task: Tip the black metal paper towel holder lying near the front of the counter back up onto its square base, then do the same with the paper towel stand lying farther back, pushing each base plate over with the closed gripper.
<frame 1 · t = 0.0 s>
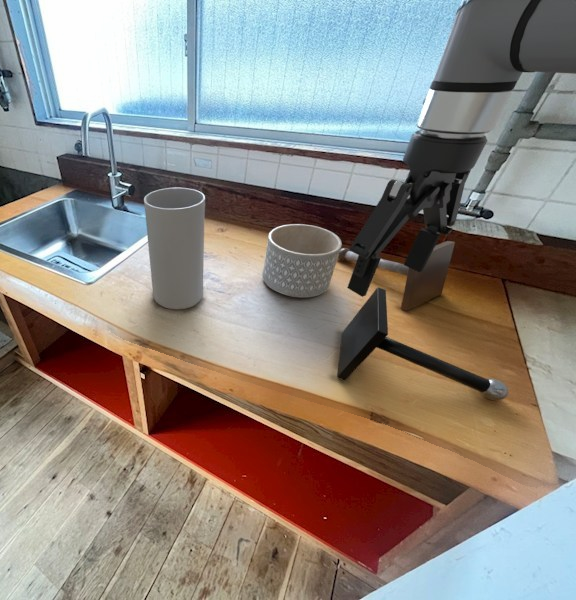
hand: (385, 279, 51), 18 cm above the worktop, tool pointing down, fingers open, 13 cm apart
black holder: (357, 331, 59), point 7 cm above the worktop
cylinder vase: (178, 296, 81), on the worktop
planter: (293, 283, 84), on the worktop
paper towel stand: (431, 276, 72), point 7 cm above the worktop
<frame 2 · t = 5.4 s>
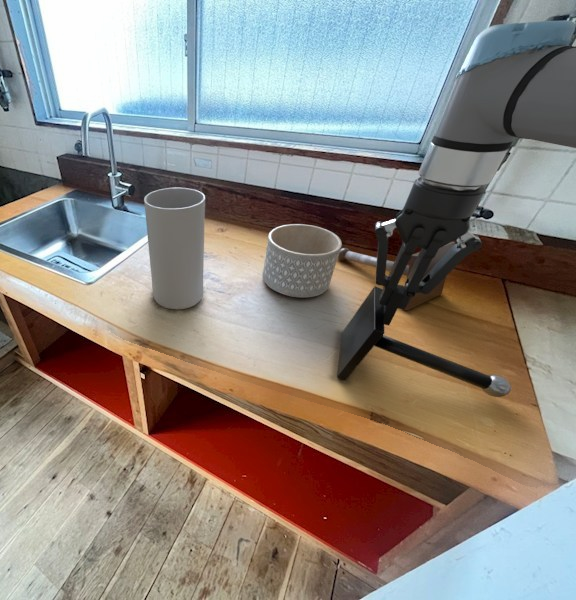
hand: (384, 319, 55), 11 cm above the worktop, tool pointing down, fingers closed
black holder: (355, 331, 59), point 7 cm above the worktop, touching gripper
everything else where it was.
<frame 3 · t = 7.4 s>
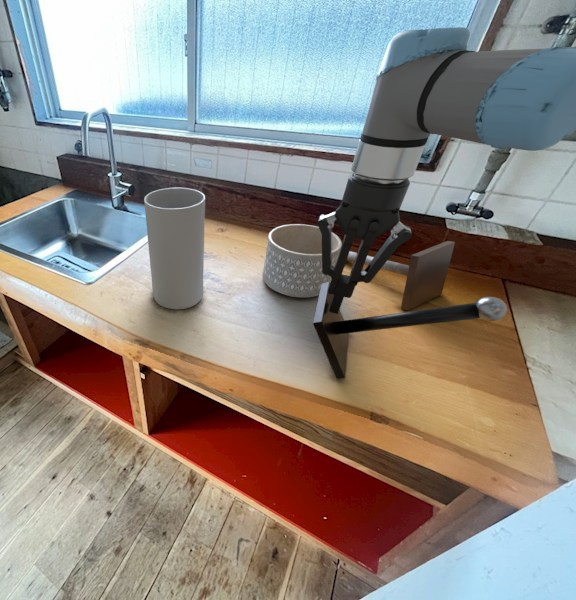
hand: (334, 308, 58), 11 cm above the worktop, tool pointing down, fingers closed
black holder: (328, 329, 61), point 6 cm above the worktop, tilted 43°, touching gripper
everything else where it was.
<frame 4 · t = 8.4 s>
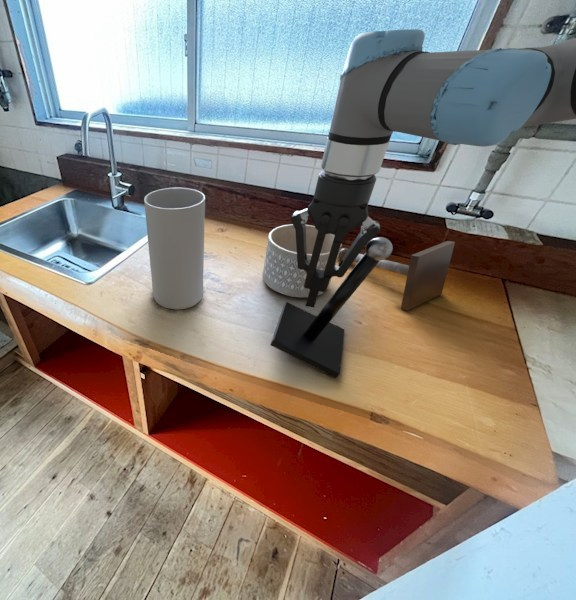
hand: (310, 302, 60), 11 cm above the worktop, tool pointing down, fingers closed
black holder: (307, 339, 65), point 2 cm above the worktop, tilted 87°, touching hand
everything else where it was.
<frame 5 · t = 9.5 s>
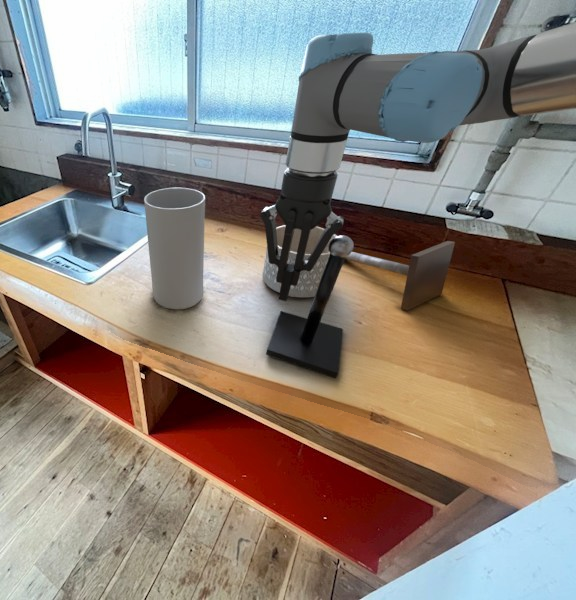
hand: (283, 296, 62), 11 cm above the worktop, tool pointing down, fingers closed
black holder: (304, 343, 66), on the worktop, tilted 100°, touching hand
everything else where it was.
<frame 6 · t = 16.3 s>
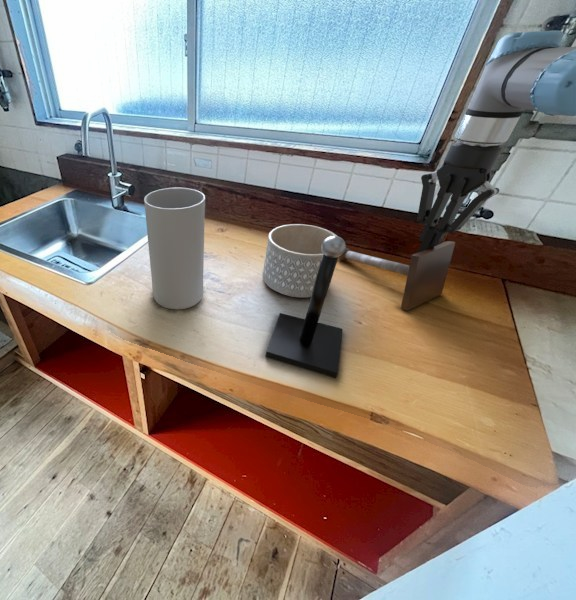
hand: (422, 255, 72), 10 cm above the worktop, tool pointing down, fingers closed
black holder: (304, 344, 66), on the worktop, tilted 102°
paper towel stand: (431, 276, 72), point 7 cm above the worktop, touching gripper
everything else where it was.
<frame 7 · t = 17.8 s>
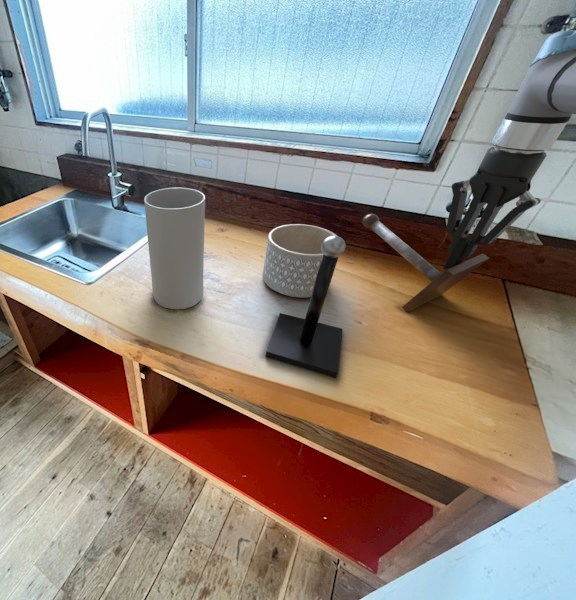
hand: (450, 268, 68), 10 cm above the worktop, tool pointing down, fingers closed
paper towel stand: (446, 286, 70), point 6 cm above the worktop, tilted 31°, touching gripper
everything else where it was.
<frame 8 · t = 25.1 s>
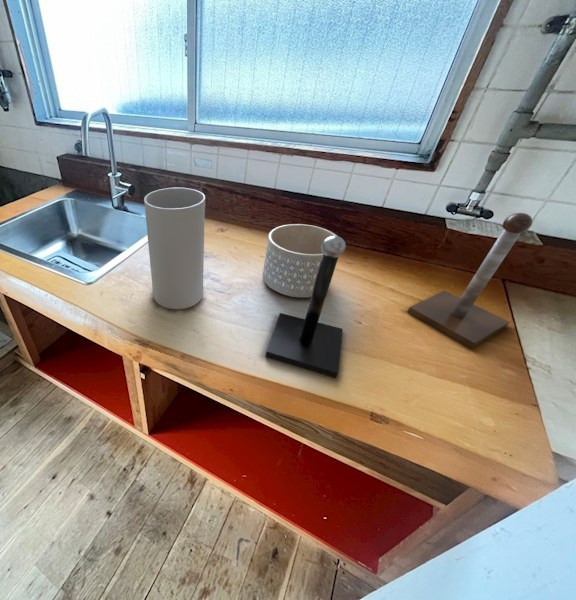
paper towel stand: (454, 319, 70), on the worktop, tilted 102°
everything else where it was.
at the end: black holder on the worktop; paper towel stand on the worktop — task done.
